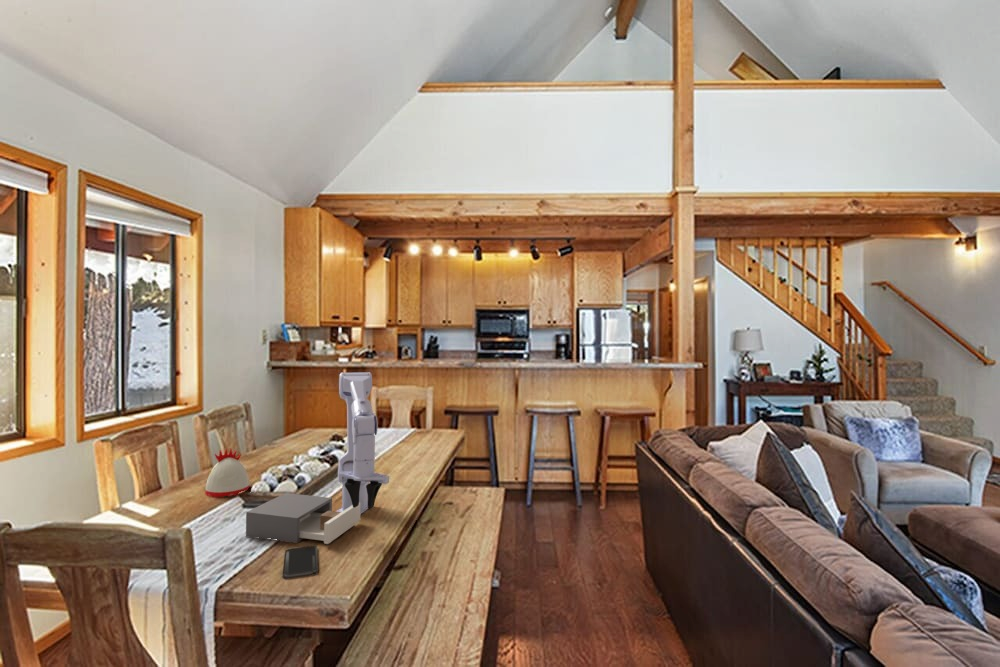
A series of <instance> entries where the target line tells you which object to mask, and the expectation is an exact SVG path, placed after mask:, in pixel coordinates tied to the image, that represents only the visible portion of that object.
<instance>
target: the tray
mask: <svg viewBox="0 0 1000 667" xmlns="http://www.w3.org/2000/svg"><path fill="white" fill-rule="evenodd" d="M322 514H324V513H317V512H312V513H310V514H308V515H307V516H305V517H303V518H301V519H300V534H299V538H304V539H308V540H315V541H323V544H324V545H325V544H326V545H329V544H331V542H333V541H335V540H336V539H337V538H338V537H340V536H341V535H342V534H344V533H345V532H347V531H348V530H349V529H351V528H352V527H354V526H355V525H356V524H357V523H359V522H360V521H361V514H360V503H359V505H358V506H357V507H355V508H354V507H353V505H352V506H350V507H349V508H347V509H346V510H344V511H343V512H341V513H339V514H338V515H336V516H335V517H333V518H332V519H330V520H329V521H327V522H326V523H324V530H320V515H322Z"/></svg>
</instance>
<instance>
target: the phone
mask: <svg viewBox="0 0 1000 667" xmlns="http://www.w3.org/2000/svg"><path fill="white" fill-rule="evenodd" d="M318 562H319V561H318V546H317V545H311V546H303V547H294V548H288V549H285V551H284V557H283V567H282V579H285V580H288V579H294V578H300V577H301V578H302V577H308V576H314V575H316V574H318V572H319V563H318Z"/></svg>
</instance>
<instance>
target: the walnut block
mask: <svg viewBox="0 0 1000 667" xmlns="http://www.w3.org/2000/svg"><path fill="white" fill-rule="evenodd" d="M336 511H337V510H336ZM336 511H335V510H332V511H327V512H325V513H324V514H322V515H320V530H324V523H326V522H327V521H329V520H330V519H332V518H333V517H335V516H336V515H338V514H339V513H341V512H336Z"/></svg>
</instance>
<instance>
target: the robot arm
mask: <svg viewBox="0 0 1000 667" xmlns="http://www.w3.org/2000/svg"><path fill="white" fill-rule="evenodd" d="M338 378H339V379H338V389H339V390H338V392H339V398H340V399H342V400H344V401H345V404H346V413H347V414H346V423H347V424H346V428H347V429H346V432H347V433H346V434H347V436H346V437H347V438H346V439H347V440H346V442H347V444H346V447H347V451H346V452H345V453H343V454H342V455H341V456H340V457H338V458H339V459H338V463H337V464H338V466H337V480H338V482H339V483H341V484H342V485H341V486H342V491H341V493H342V495H341V508H339V509H337V510H336V512H343V511H344V510H346V509H347V508H349V507H350V506H352V505H353V507H354V508H355V507H357V506H358V505H359V503H360V515H361V514H363V513H364V512H365V511H368V510H371V509H373V508H374V507H375V502H376V500H377V499H376V498H377V497H378V496H377V495H378V493H379V491H380V488H381V487H382V485H387V484H389V483H390V475H387V474H382V473H378V472H376V471H375V467H376V466H375V457H376V456H375V454H376V453H375V452H376V436H377V434H378V424H379V422H378V417H377V414H376V413H374V412H373V407H372V403H371V401H370V399H368V398H369V397H370V394H371V391H372V389H373V376H372V373H371V372H370V371H369V372H368V371H367V372H340V374H339V377H338Z"/></svg>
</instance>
